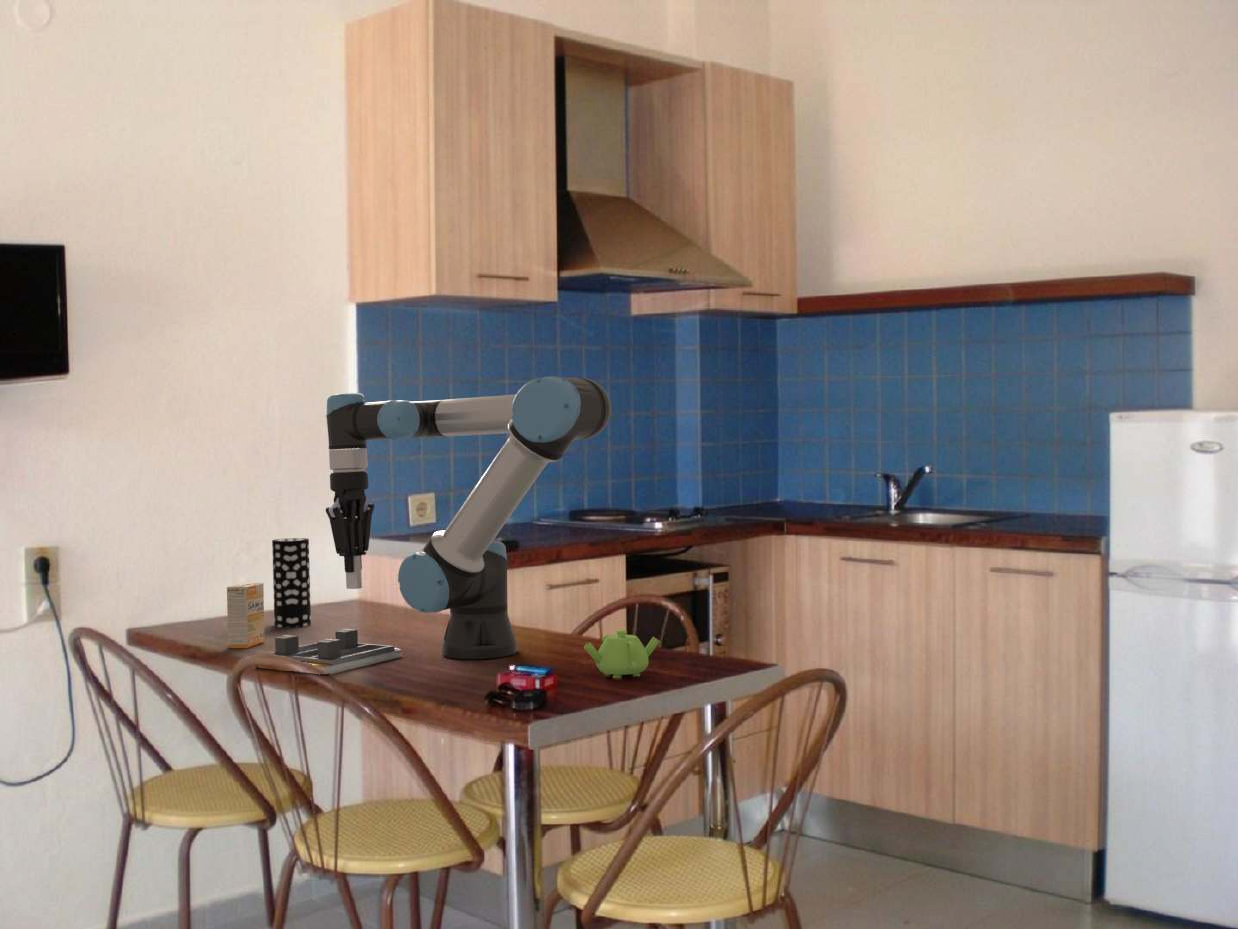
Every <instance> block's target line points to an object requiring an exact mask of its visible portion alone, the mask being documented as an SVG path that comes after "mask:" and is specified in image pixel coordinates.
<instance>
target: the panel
mask: <svg viewBox="0 0 1238 929" xmlns="http://www.w3.org/2000/svg"><path fill="white" fill-rule="evenodd" d="M298 646H299V653H296V654H292V655H280V654H276V650H275V651H272V652H270V653H271V654H275V655H278V656H286V657H289V658H292V659H295V660H299V661H301V662H307V663H309V664H312V665H313V666H315V667H317V668H319V669H322V670H324V671H325V672H328V673H330V675H333V674H337V673H341V672H342V673H343V672H346V671H350V670H355V669H358V668H362V667H365V666H366V667H368V666H371V665H374V664H378V663H382V662H386V661H390V660H395V659H399V658H402V657H403V656H402V655H403V654H402V649H400V648H398V647H395V645H388V644H387V645H384V644H378V643H377V644H376V643H375V644H374V643H366V642H365V643H364V642H363V643H362V642H358V647H353V648H349V649H344V650H341V657H340V658H335V659H331V660H330V659H320V658H318V648H317V642H313V643H310V644H309V643H308V644H305V645H304V644H303V645H298Z"/></svg>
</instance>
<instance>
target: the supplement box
mask: <svg viewBox="0 0 1238 929" xmlns="http://www.w3.org/2000/svg"><path fill="white" fill-rule="evenodd" d="M264 587H265V586H264V582H244V583H240V584H236V585H230V586H227V587H226V606H227V608H226V610H227V648H229V649H248V648H251V647H255V646H257V645H259V644H263V643H265V606H264V604H265V602H264V601H265V599H264V598H265V596H264V594H265V592H264V591H265V590H264Z"/></svg>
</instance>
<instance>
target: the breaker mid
mask: <svg viewBox="0 0 1238 929" xmlns="http://www.w3.org/2000/svg"><path fill="white" fill-rule="evenodd" d="M358 630H359V629H353V628H341V630H336V631H335V639H339V640H341V650H344V649H349V648H353V647H358V643H359V638H358V637H359V632H358Z"/></svg>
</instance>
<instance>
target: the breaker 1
mask: <svg viewBox="0 0 1238 929" xmlns="http://www.w3.org/2000/svg"><path fill="white" fill-rule="evenodd" d="M274 640H275V641H274V643H275V645H274V646H275V651H276V654H280V655H292V654H296V653H299V646H300V645H299V636H298V635H296V634H295V635H293V634H287V635H286V634H285V635H284V634H283V635H281V636H277V637H274Z"/></svg>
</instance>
